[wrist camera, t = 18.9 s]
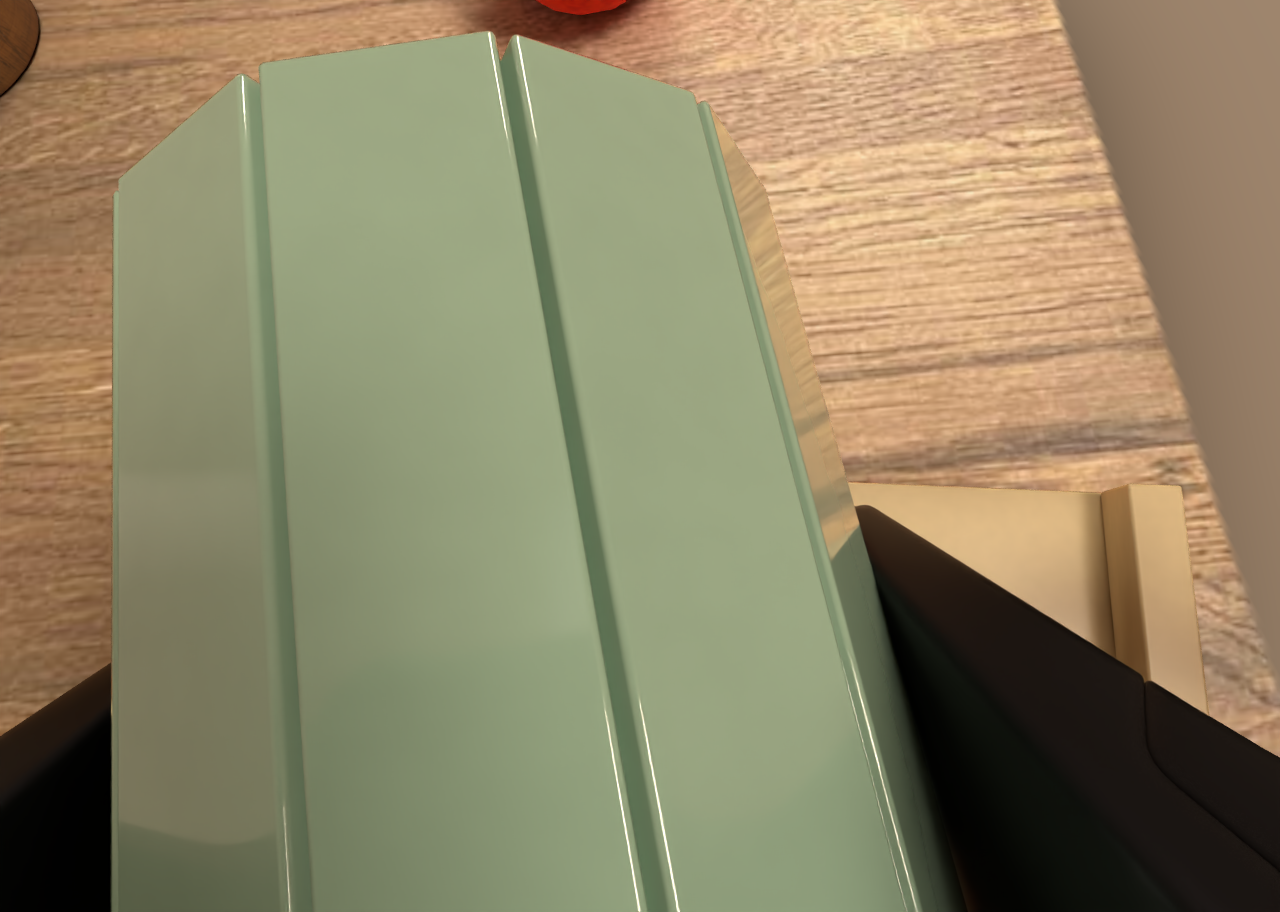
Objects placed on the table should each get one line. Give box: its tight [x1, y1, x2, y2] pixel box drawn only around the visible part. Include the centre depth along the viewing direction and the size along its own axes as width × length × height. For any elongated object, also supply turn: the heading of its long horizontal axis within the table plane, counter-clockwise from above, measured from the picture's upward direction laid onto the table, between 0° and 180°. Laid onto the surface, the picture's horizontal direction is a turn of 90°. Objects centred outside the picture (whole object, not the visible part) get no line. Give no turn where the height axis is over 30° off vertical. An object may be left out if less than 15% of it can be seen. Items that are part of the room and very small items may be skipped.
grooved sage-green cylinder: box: [111, 31, 968, 912], centre depth 7 cm, size 11×7×7 cm, turn 11°
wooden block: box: [848, 482, 1209, 716], centre depth 16 cm, size 8×10×6 cm
